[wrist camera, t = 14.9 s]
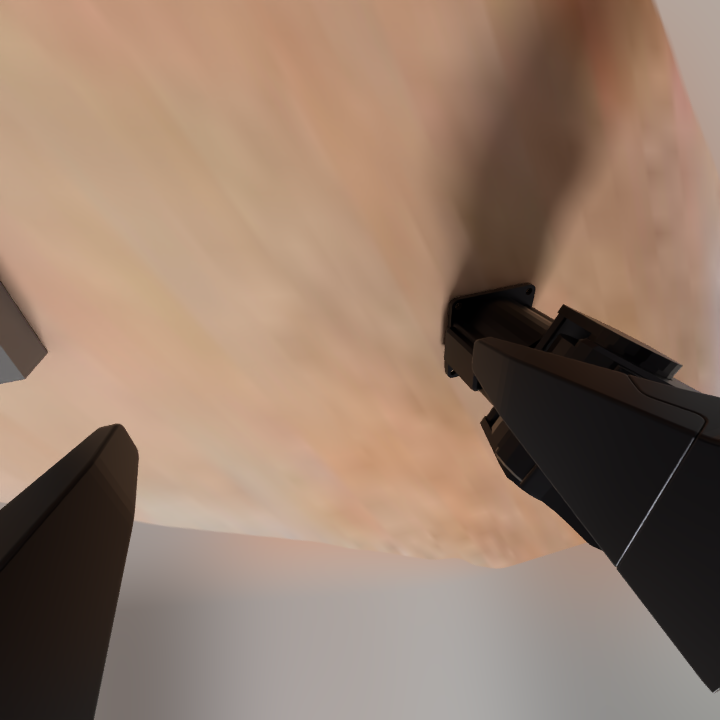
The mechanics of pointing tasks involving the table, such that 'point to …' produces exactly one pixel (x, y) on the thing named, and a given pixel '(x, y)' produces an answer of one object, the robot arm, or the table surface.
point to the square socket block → (16, 342)
